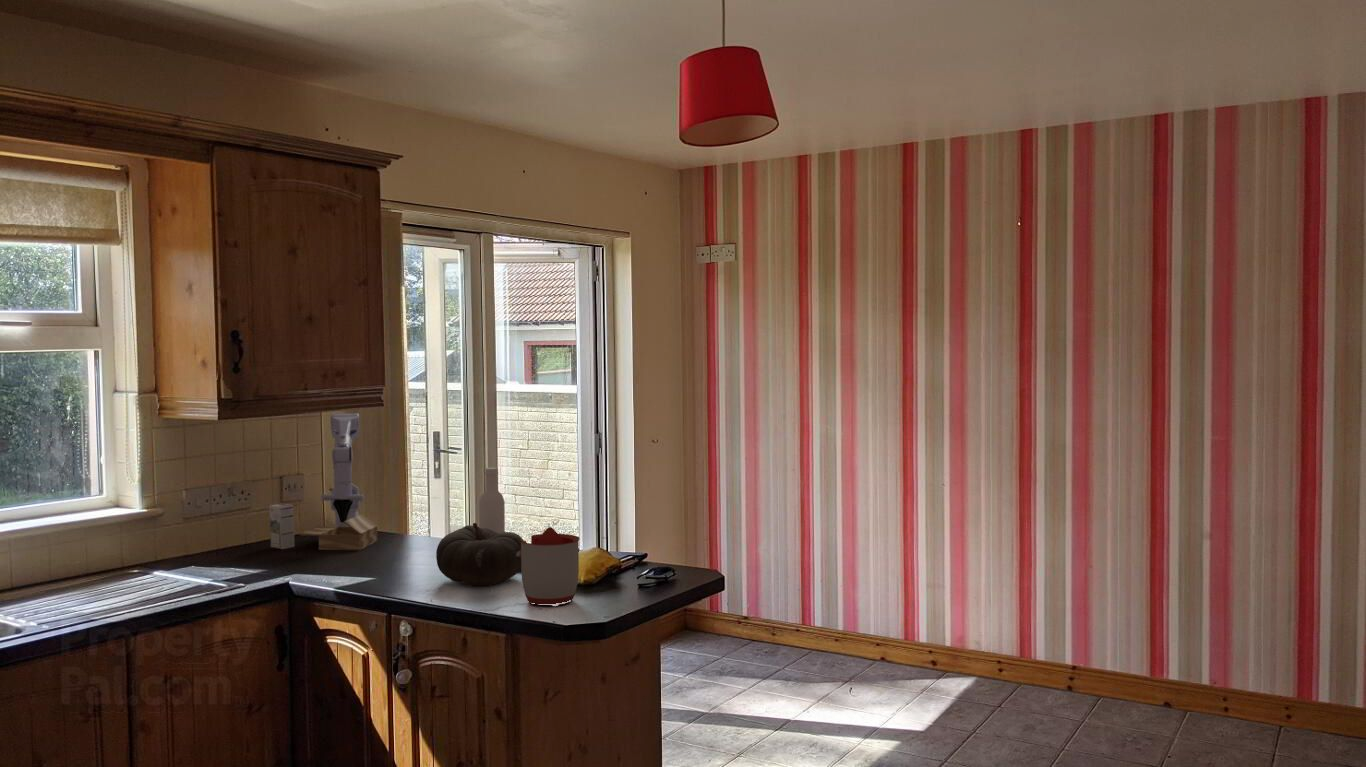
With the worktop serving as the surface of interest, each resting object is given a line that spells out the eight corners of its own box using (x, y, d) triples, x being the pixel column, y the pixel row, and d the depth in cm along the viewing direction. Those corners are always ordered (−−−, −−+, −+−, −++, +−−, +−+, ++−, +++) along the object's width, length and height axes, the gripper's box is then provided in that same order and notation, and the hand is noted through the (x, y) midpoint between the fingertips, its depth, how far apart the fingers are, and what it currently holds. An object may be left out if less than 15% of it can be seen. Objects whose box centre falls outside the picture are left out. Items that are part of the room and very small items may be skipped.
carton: (318, 540, 363) (318, 526, 363) (377, 541, 362) (377, 527, 362) (298, 549, 347) (298, 534, 347) (359, 550, 346) (359, 535, 346)
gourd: (456, 560, 316) (462, 505, 313) (533, 576, 312) (540, 521, 309) (420, 587, 292) (426, 528, 289) (503, 605, 288) (511, 546, 285)
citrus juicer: (533, 592, 286) (532, 520, 285) (590, 598, 279) (589, 524, 279) (503, 605, 271) (502, 529, 270) (562, 612, 265) (562, 533, 264)
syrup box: (295, 546, 352) (294, 504, 351) (280, 549, 347) (279, 506, 346) (284, 545, 355) (283, 502, 354) (269, 547, 350) (268, 505, 349)
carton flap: (360, 515, 361) (360, 514, 361) (376, 527, 361) (377, 526, 361) (343, 522, 347) (344, 521, 347) (360, 534, 346) (361, 533, 346)
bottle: (475, 566, 320) (474, 469, 319) (485, 561, 328) (485, 466, 327) (499, 567, 318) (498, 470, 317) (509, 562, 326) (508, 467, 325)
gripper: (317, 483, 350) (317, 523, 351) (358, 483, 349) (359, 524, 350) (325, 480, 357) (326, 520, 358) (366, 481, 356) (367, 520, 357)
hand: (343, 521), depth 354 cm, fingers closed
